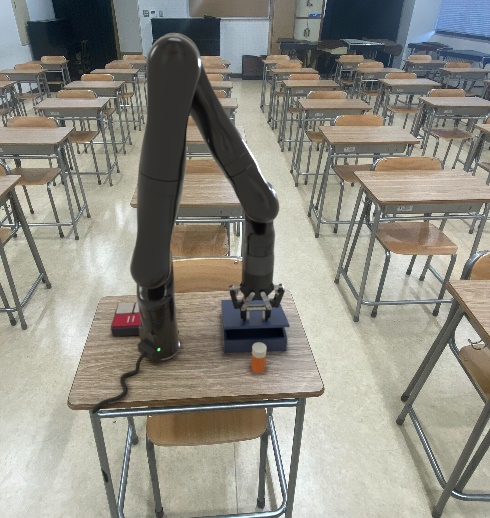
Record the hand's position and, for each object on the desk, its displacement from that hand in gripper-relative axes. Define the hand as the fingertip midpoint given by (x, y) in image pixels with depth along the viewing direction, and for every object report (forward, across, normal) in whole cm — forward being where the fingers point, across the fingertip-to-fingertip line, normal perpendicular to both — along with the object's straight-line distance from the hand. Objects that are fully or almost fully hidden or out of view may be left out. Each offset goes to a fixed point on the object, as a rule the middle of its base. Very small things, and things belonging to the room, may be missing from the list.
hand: (255, 318), depth 103 cm
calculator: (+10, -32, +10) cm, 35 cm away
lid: (+2, 0, +4) cm, 5 cm away
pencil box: (+10, 0, +4) cm, 11 cm away
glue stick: (+10, 0, -9) cm, 13 cm away
